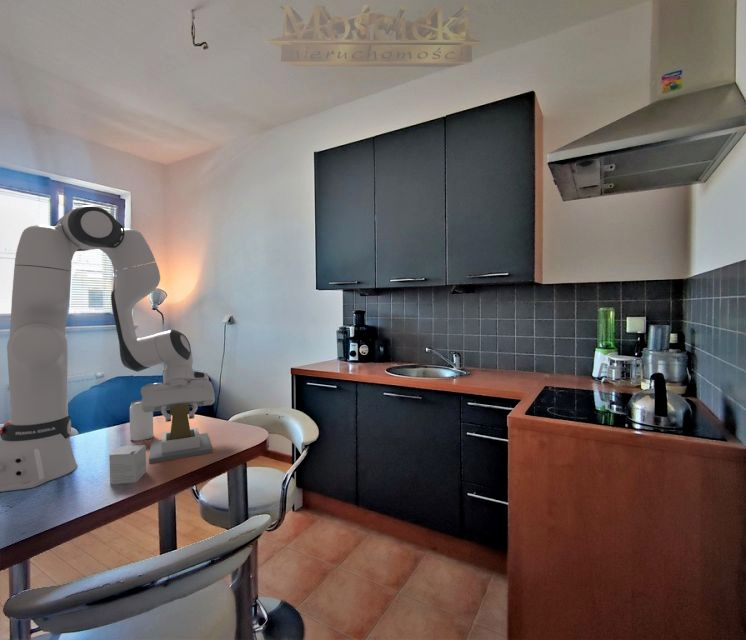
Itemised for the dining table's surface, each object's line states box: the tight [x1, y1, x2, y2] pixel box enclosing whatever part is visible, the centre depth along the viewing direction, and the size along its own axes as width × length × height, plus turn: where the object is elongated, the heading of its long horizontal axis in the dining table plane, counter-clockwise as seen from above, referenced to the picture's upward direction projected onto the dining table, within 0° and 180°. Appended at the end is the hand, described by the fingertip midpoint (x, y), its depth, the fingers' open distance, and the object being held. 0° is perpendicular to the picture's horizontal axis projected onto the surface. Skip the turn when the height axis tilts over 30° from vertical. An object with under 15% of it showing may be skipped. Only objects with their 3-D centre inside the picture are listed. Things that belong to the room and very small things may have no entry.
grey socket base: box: [148, 427, 213, 464], centre depth 115 cm, size 16×16×4 cm
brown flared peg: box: [169, 404, 191, 440], centre depth 115 cm, size 6×6×11 cm
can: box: [129, 399, 154, 442], centre depth 124 cm, size 6×6×12 cm
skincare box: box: [109, 444, 147, 485], centre depth 95 cm, size 6×6×7 cm
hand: (180, 419), depth 114 cm, fingers closed on brown flared peg, 5 cm apart
